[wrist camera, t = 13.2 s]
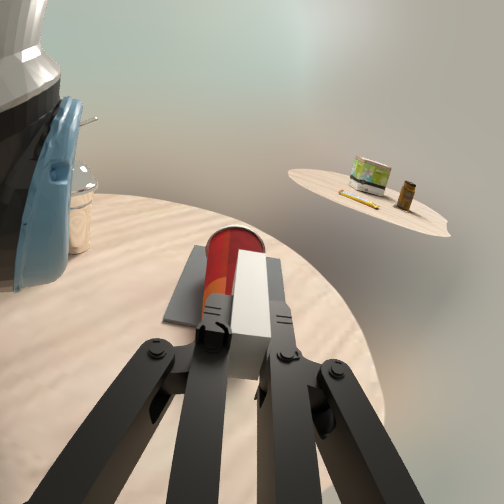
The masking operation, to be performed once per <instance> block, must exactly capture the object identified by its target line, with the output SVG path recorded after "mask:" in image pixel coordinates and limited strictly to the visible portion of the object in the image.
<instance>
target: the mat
mask: <svg viewBox="0 0 504 504" xmlns="http://www.w3.org/2000/svg"><path fill="white" fill-rule="evenodd" d="M206 265H207V258H206V254H205V247H204V246H198V245H195V246H194V248H193V250H192V252H191V255H190V257H189V259H188V261H187V264H186V266H185V268H184V270H183V273H182V275H181V277H180V279H179V282H178V284H177V286H176V289H175V291H174V294H173V296H172V298H171V301H170V303H169V305H168V308H167V310H166V313H165V315H164V318H163V321H167V322H172V323H177V324H182V325H187V326H193V327H197V326H198V324H199V323H201V322H202V306H203V295H204V284H205V275H206ZM266 268H267V282H268V297H269V300H272V301H280V302H285V294H284V286H283V278H282V270H281V262H280V259H276V258H270V257H266Z"/></svg>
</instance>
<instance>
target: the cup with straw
mask: <svg viewBox="0 0 504 504" xmlns="http://www.w3.org/2000/svg"><path fill="white" fill-rule="evenodd" d="M97 120H98V118H97V117H93V118H90V119H88V120H85V121H82V122H80V127H81V126H83V125H86V124H89V123H92V122H94V121H97ZM97 182H98V181H97V179H95V178H93V174H92V172H91V170H90V168H89V167H88V166H87V165H86V164H84V163H83V162H80V161H75V162H74V170H73V180H72V191H71V205H70V223H69V252H68V253H69V254H78V253H82V252H84V251H86V250H88V248H89V247H90V244H89V240H90V218H91V204H92V200H93V194H94V193H93V192H94V190H96V189H97V188H98V183H97Z"/></svg>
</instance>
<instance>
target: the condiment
mask: <svg viewBox="0 0 504 504" xmlns="http://www.w3.org/2000/svg"><path fill="white" fill-rule="evenodd" d="M415 187H416V185H415V184H413V183H411V182H409V181H405V183H404V186H403V187H402V189H401V192H400V196H399V199H398V202H397V204H395V205H394V207H396V208H398V209H400V210H402V211H404V212H407V213H409V212H410V210H409V208H410V205H411V202H412V199H413V196H414V193H415Z"/></svg>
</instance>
